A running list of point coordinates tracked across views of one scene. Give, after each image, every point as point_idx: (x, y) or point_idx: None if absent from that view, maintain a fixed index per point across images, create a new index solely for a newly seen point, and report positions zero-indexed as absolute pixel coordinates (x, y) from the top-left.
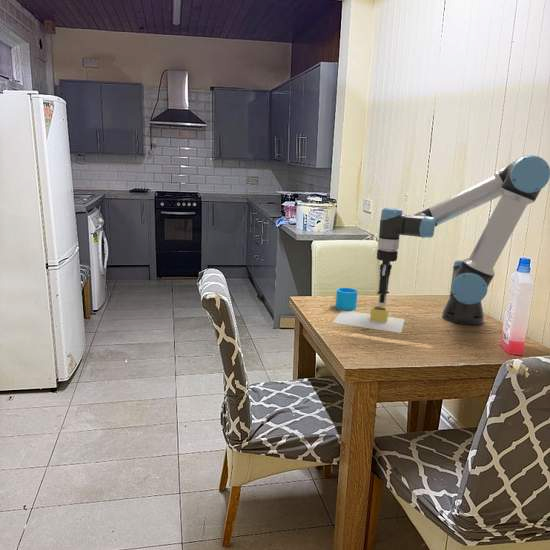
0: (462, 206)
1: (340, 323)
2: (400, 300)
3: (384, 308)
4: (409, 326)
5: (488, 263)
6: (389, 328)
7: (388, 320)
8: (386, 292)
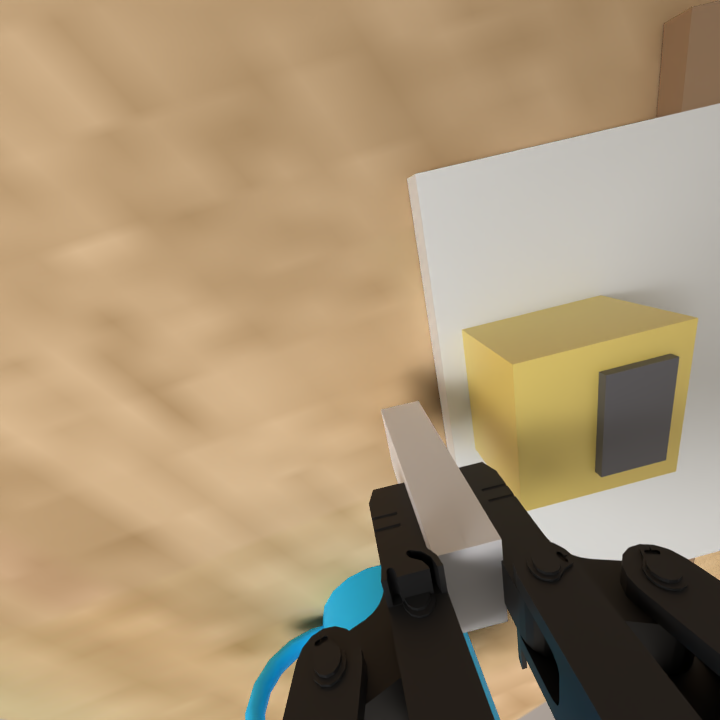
0: None
1: None
2: None
3: (627, 382)
4: (512, 87)
5: None
6: None
7: (548, 297)
8: (443, 584)
